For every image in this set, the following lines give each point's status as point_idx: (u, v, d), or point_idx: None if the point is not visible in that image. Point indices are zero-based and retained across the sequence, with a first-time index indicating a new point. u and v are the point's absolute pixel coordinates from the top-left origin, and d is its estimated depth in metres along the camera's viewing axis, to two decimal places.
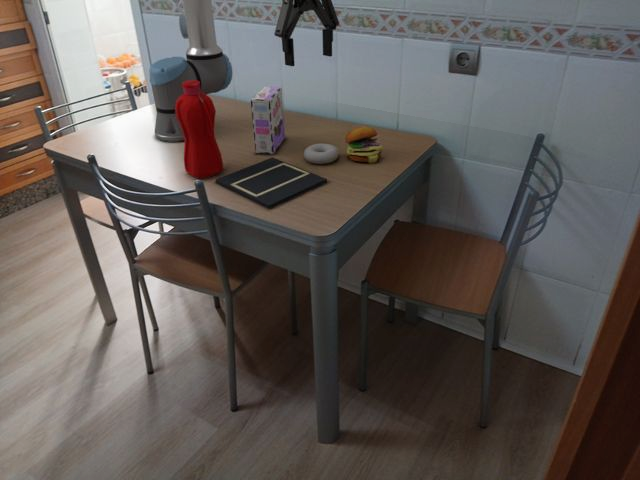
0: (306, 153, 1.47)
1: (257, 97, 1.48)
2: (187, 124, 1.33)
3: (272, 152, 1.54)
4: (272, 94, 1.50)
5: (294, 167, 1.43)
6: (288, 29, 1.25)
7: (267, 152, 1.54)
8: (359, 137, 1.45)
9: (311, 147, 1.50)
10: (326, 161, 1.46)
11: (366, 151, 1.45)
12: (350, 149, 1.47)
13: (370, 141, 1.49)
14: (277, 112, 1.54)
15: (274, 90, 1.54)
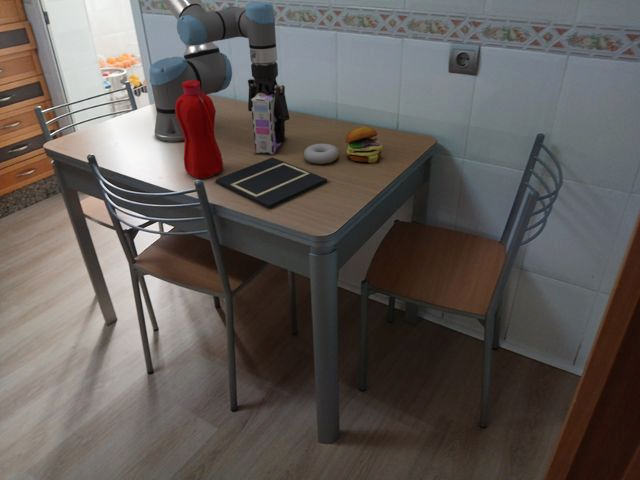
0: (306, 153, 1.47)
1: (257, 97, 1.48)
2: (187, 124, 1.33)
3: (272, 152, 1.54)
4: (272, 94, 1.50)
5: (294, 167, 1.43)
6: None
7: (267, 152, 1.54)
8: (359, 137, 1.45)
9: (311, 147, 1.50)
10: (326, 161, 1.46)
11: (366, 151, 1.45)
12: (350, 149, 1.47)
13: (370, 141, 1.49)
14: None
15: None
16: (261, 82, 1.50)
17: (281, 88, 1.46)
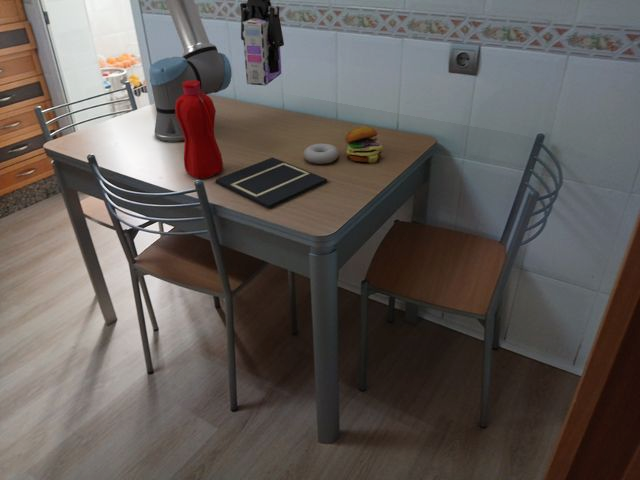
0: (306, 153, 1.47)
1: (249, 20, 1.37)
2: (187, 124, 1.33)
3: (264, 83, 1.43)
4: None
5: (294, 167, 1.43)
6: None
7: (259, 83, 1.44)
8: (359, 137, 1.45)
9: (311, 147, 1.50)
10: (326, 161, 1.46)
11: (366, 151, 1.45)
12: (350, 149, 1.47)
13: (370, 141, 1.49)
14: None
15: None
16: (254, 4, 1.39)
17: (275, 9, 1.35)
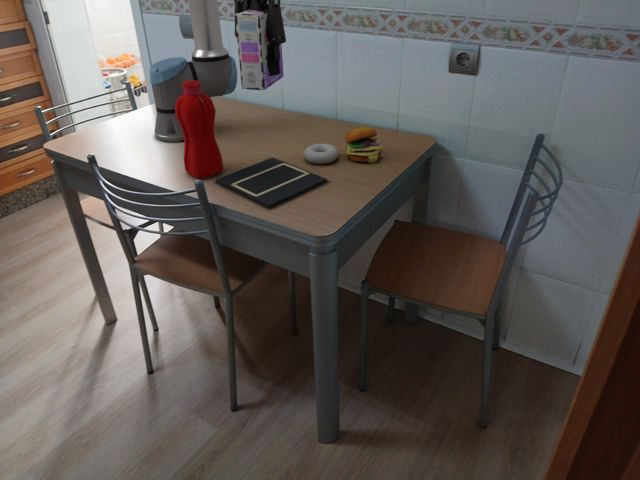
0: (306, 153, 1.47)
1: (244, 12, 1.14)
2: (187, 124, 1.33)
3: (263, 88, 1.19)
4: None
5: (294, 167, 1.43)
6: None
7: (256, 87, 1.19)
8: (359, 137, 1.45)
9: (311, 147, 1.50)
10: (326, 161, 1.46)
11: (366, 151, 1.45)
12: (350, 149, 1.47)
13: (370, 141, 1.49)
14: None
15: None
16: None
17: None
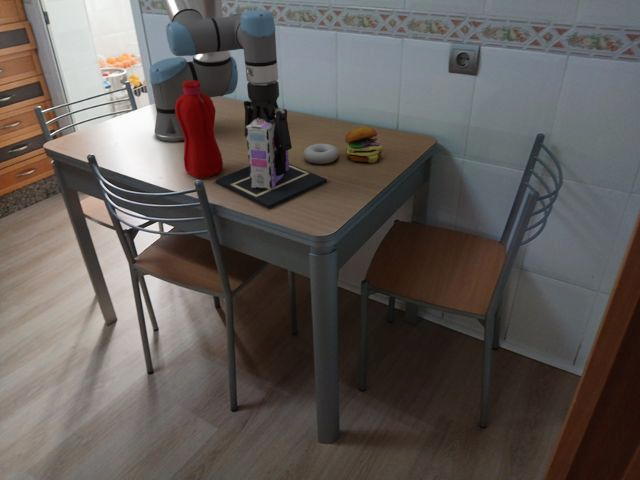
0: (306, 153, 1.47)
1: (254, 124, 1.25)
2: (187, 124, 1.33)
3: (270, 188, 1.31)
4: (272, 120, 1.27)
5: (294, 167, 1.43)
6: None
7: (264, 187, 1.31)
8: (359, 137, 1.45)
9: (311, 147, 1.50)
10: (326, 161, 1.46)
11: (366, 151, 1.45)
12: (350, 149, 1.47)
13: (370, 141, 1.49)
14: None
15: None
16: (259, 104, 1.27)
17: (283, 113, 1.23)
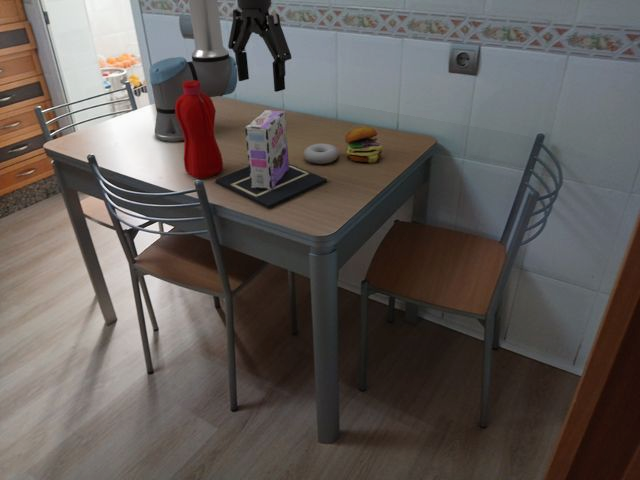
0: (306, 153, 1.47)
1: (253, 124, 1.25)
2: (187, 124, 1.33)
3: (270, 188, 1.31)
4: (272, 120, 1.27)
5: (294, 167, 1.43)
6: None
7: (264, 187, 1.31)
8: (359, 137, 1.45)
9: (311, 147, 1.50)
10: (326, 161, 1.46)
11: (366, 151, 1.45)
12: (350, 149, 1.47)
13: (370, 141, 1.49)
14: (278, 141, 1.31)
15: (275, 115, 1.31)
16: (250, 15, 1.17)
17: (275, 16, 1.13)
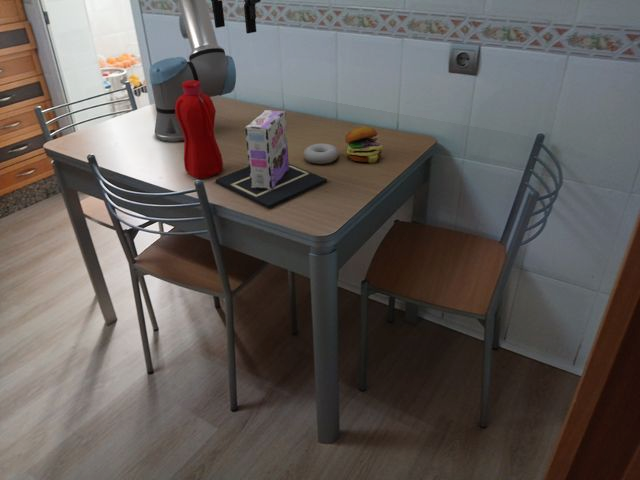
0: (306, 153, 1.47)
1: (253, 124, 1.25)
2: (187, 124, 1.33)
3: (270, 188, 1.31)
4: (272, 120, 1.27)
5: (294, 167, 1.43)
6: None
7: (264, 187, 1.31)
8: (359, 137, 1.45)
9: (311, 147, 1.50)
10: (326, 161, 1.46)
11: (366, 151, 1.45)
12: (350, 149, 1.47)
13: (370, 141, 1.49)
14: (278, 141, 1.31)
15: (275, 115, 1.31)
16: None
17: None
